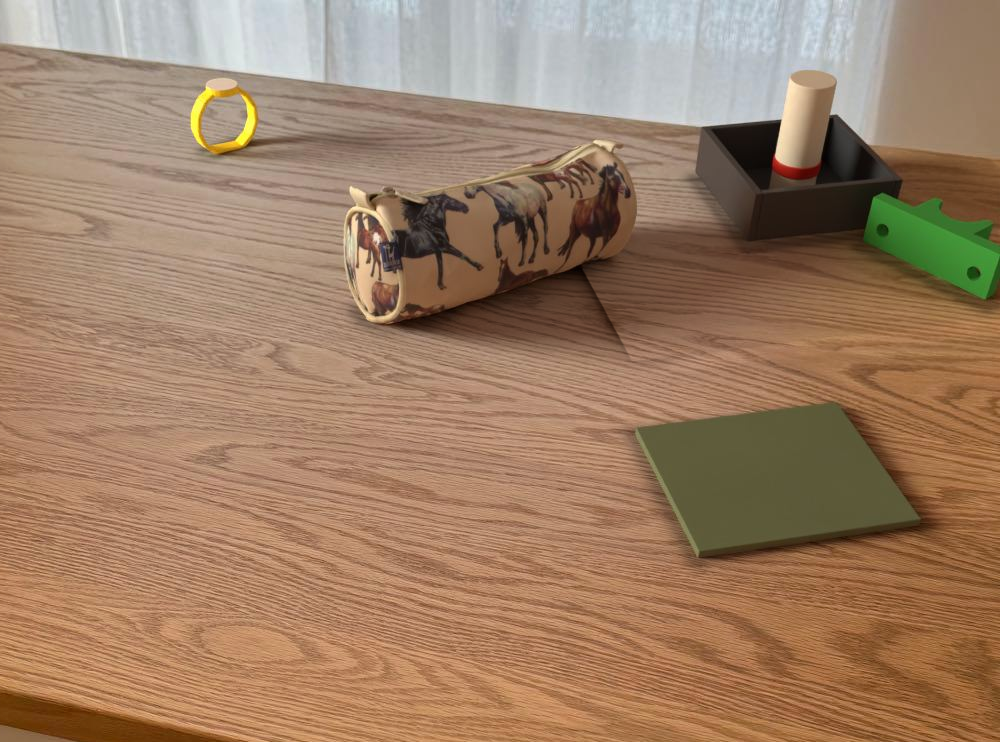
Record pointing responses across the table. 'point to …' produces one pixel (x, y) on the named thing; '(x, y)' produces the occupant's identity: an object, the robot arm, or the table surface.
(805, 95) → the red-banded cream cylinder
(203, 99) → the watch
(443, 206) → the pencil case
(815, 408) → the mat
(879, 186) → the bin
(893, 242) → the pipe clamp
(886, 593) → the table surface
